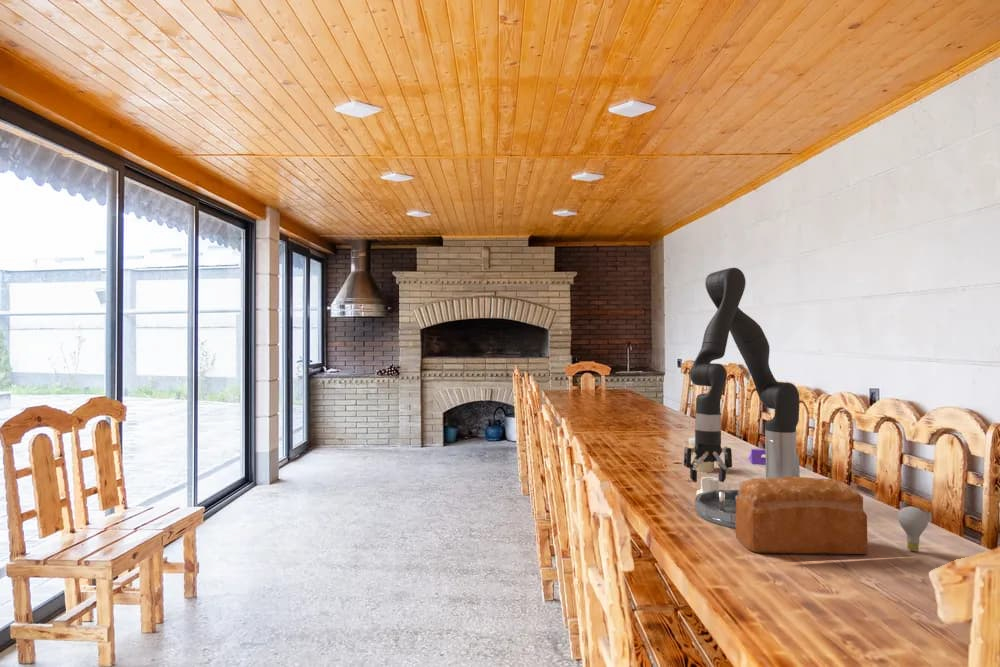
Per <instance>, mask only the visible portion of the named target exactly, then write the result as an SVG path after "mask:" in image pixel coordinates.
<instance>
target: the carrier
mask: <svg viewBox="0 0 1000 667" xmlns="http://www.w3.org/2000/svg"><path fill="white" fill-rule="evenodd" d="M745 481H746V480H745ZM745 481H744V480H743V481H739V486H740V485H742V484H743V483H744V482H745ZM738 494H739V489H719V490H712V491H708V492H704V493H700V494H698V495H697V494H696V497H695V500H694V508H695V509H696V511H695V512H696V514H697V516H698V517H700V518H701V519H703V520H705V521H706V522H710V523H711V524H715V525H717V526H721V527H725V528H730V529H734V530H735V523H736V499H737V497H738Z"/></svg>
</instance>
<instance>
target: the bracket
mask: <svg viewBox="0 0 1000 667" xmlns="http://www.w3.org/2000/svg"><path fill="white" fill-rule="evenodd" d="M750 451H751V452H750V453H749V457H748V459H749V461H750V463H751V464H752V465H757V464H759V465H761V466H762V465H763V466H766V452H765V449H764V448H763V449H762V448H751V450H750ZM763 455H765V456H764V457H763Z"/></svg>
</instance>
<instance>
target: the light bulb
mask: <svg viewBox="0 0 1000 667" xmlns="http://www.w3.org/2000/svg"><path fill="white" fill-rule="evenodd" d="M897 519H898V523H899V524H900V525H899V526H900V527H901V528H902V529H903V531H904V532H905V533H904V534H906V541H907V547H906V548H907V549H908V550H910V551H911V553H912V552H913V553H915V552H918V551H919V549H920V548H919V546H920V545H919V543H920V537H921V536H922V533H924V532H925V529H927V527H928V524H929V521H928V520H929V519H928V516H927V515H926V512H924V511H923V510H922V509H921V508H919V507H915V506H905V507H903V508H901V509H900V510H899V512H898V514H897Z"/></svg>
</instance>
